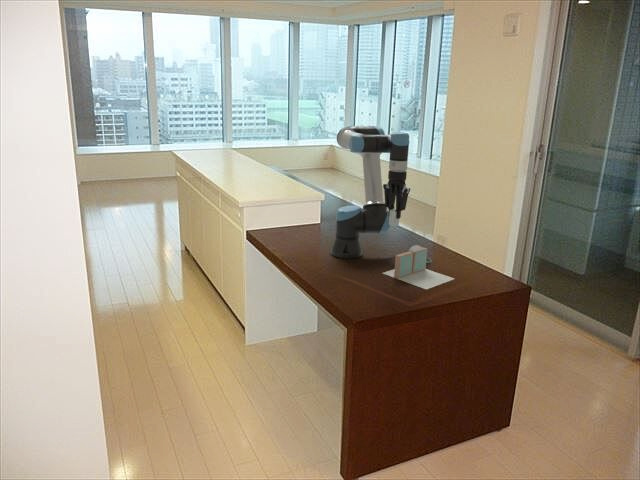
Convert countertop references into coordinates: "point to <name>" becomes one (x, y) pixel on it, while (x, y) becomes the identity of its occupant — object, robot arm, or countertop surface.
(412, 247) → the ceramic mug
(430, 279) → the stone board
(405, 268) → the tile
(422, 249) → the tile
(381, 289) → the countertop surface
